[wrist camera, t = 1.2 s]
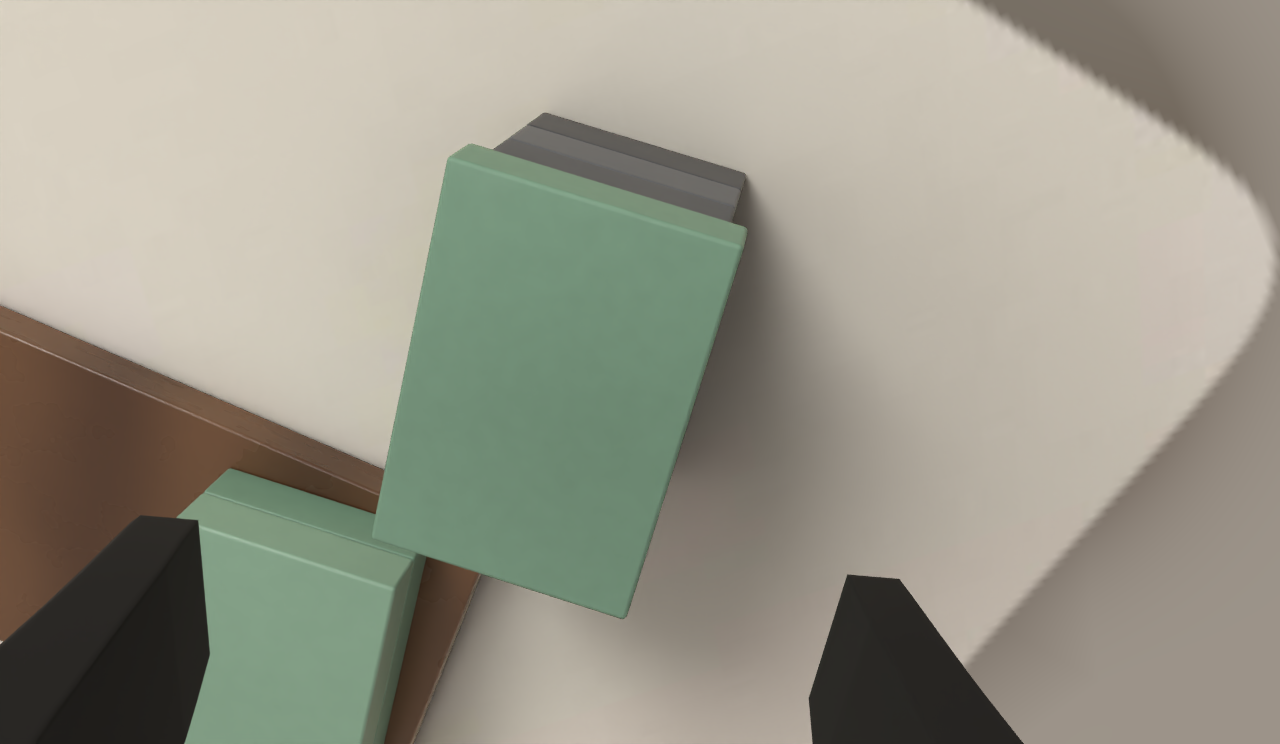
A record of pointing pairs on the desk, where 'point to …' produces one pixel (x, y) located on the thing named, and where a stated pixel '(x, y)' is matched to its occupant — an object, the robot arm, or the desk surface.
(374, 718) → the green flat block
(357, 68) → the desk surface
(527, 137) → the grey books
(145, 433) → the book ledge
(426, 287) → the sage book
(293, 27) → the desk surface
